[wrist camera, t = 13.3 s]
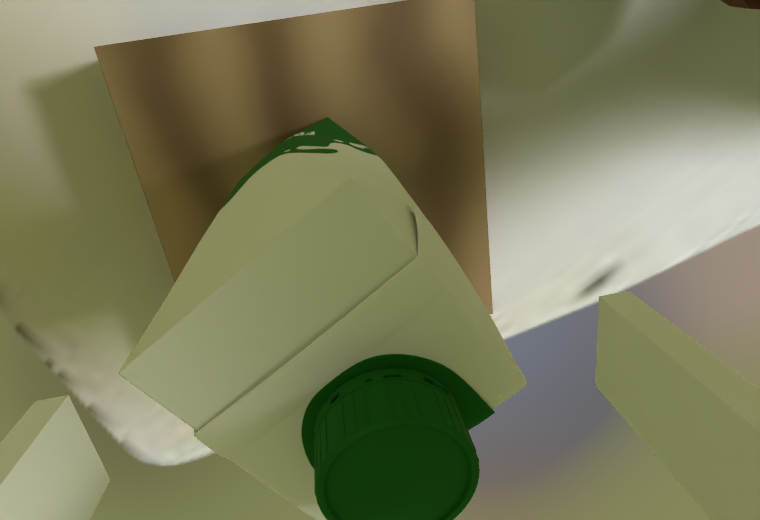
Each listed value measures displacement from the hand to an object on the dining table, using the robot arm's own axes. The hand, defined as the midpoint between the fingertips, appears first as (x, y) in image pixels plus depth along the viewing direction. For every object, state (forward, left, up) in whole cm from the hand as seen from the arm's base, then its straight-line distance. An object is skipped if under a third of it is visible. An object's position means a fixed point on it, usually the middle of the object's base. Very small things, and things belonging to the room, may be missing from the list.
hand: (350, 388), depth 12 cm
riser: (0, 0, -23) cm, 23 cm away
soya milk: (0, 0, -19) cm, 19 cm away
